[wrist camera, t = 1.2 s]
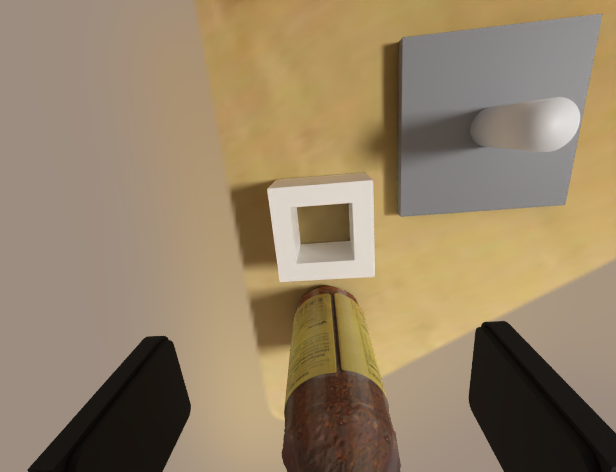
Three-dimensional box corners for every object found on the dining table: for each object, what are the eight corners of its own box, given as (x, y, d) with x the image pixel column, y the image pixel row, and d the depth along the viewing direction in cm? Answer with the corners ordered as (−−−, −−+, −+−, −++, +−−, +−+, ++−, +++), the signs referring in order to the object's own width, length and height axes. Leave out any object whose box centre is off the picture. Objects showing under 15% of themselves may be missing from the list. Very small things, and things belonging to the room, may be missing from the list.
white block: (276, 179, 24) (267, 188, 20) (365, 172, 23) (373, 179, 19) (286, 260, 26) (279, 282, 22) (367, 255, 25) (375, 276, 22)
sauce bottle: (293, 336, 29) (232, 727, 10) (297, 278, 26) (232, 635, 8) (361, 343, 28) (431, 755, 10) (371, 285, 26) (486, 668, 8)
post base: (398, 41, 20) (435, -3, 13) (588, 19, 19) (728, -40, 12) (397, 213, 24) (425, 244, 17) (555, 201, 23) (647, 230, 16)
